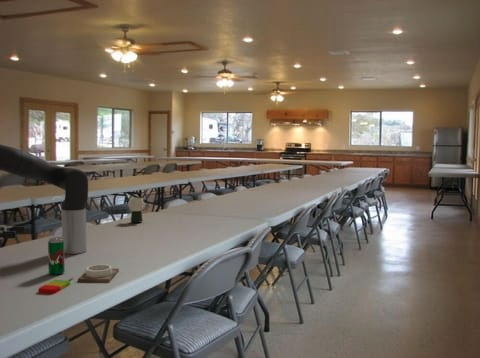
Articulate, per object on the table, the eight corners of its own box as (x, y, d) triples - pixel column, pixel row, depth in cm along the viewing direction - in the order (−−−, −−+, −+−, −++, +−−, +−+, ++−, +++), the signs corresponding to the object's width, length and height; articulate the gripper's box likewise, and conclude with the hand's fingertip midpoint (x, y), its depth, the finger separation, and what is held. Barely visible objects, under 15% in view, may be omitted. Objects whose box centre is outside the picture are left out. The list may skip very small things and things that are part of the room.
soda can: (66, 271, 160) (66, 236, 159) (61, 275, 155) (61, 240, 154) (51, 271, 160) (51, 236, 159) (46, 275, 155) (45, 240, 154)
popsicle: (36, 294, 138) (36, 288, 138) (64, 279, 152) (64, 273, 152) (53, 296, 137) (53, 289, 137) (80, 280, 151) (80, 275, 151)
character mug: (149, 222, 252) (148, 198, 251) (141, 224, 246) (141, 200, 244) (132, 220, 256) (132, 197, 255) (124, 222, 250) (124, 198, 249)
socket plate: (89, 271, 160) (89, 262, 160) (118, 271, 161) (118, 262, 160) (77, 281, 148) (77, 272, 148) (109, 282, 149) (109, 273, 148)
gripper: (-43, 224, 145) (12, 224, 147) (-22, 217, 160) (27, 217, 161) (-42, 248, 146) (12, 248, 148) (-22, 238, 160) (27, 238, 162)
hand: (20, 232), depth 155 cm, fingers open, 8 cm apart
